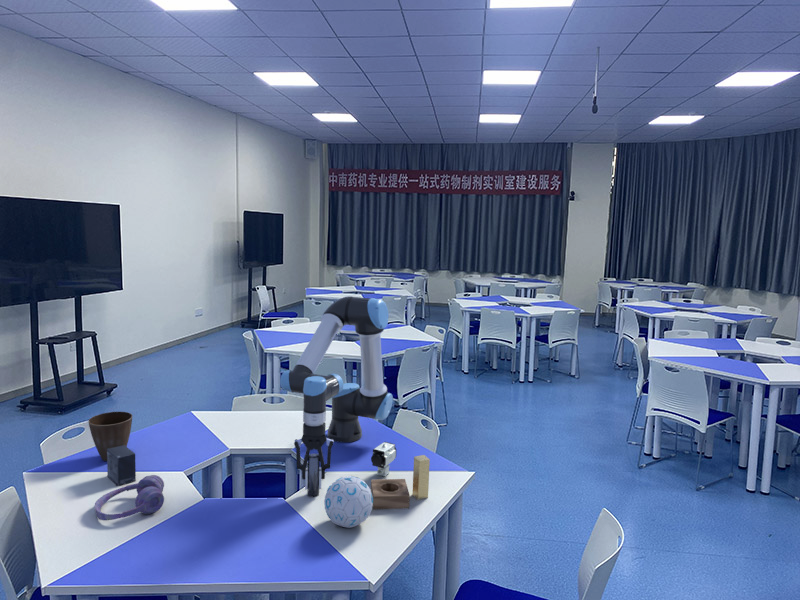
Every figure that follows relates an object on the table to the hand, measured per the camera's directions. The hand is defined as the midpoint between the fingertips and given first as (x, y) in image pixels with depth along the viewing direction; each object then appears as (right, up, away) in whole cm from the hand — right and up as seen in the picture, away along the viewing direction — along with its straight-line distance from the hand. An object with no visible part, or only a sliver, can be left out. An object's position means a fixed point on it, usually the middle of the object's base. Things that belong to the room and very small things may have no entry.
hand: (313, 487), depth 189 cm
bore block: (+26, -4, -1) cm, 27 cm away
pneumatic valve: (+24, -1, +17) cm, 30 cm away
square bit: (+37, -4, +2) cm, 37 cm away
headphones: (-57, -3, -13) cm, 58 cm away
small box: (-69, +1, +7) cm, 70 cm away
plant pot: (-82, +3, +23) cm, 85 cm away
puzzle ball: (+14, -6, -17) cm, 23 cm away
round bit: (0, -3, 0) cm, 3 cm away
